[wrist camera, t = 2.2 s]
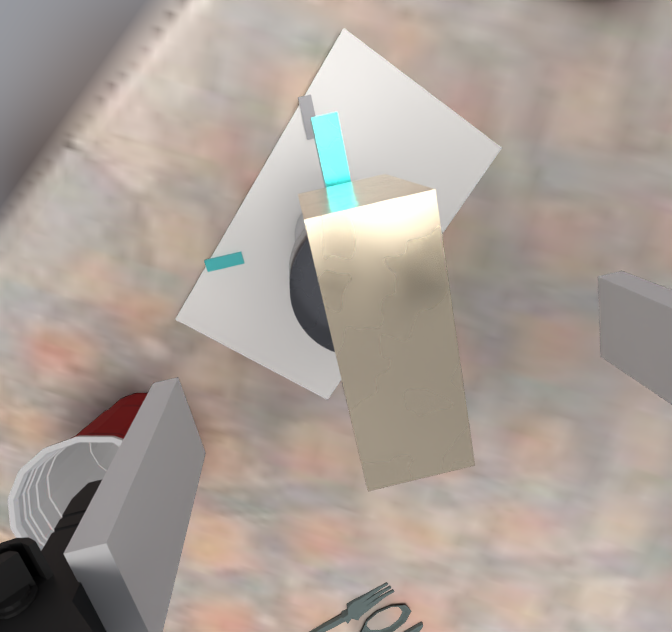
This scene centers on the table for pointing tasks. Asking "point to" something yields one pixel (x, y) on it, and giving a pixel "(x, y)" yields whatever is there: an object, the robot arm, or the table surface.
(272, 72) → the table surface
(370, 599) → the cutlery set
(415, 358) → the beige boxy piece
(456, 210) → the base
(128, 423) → the plastic cup
